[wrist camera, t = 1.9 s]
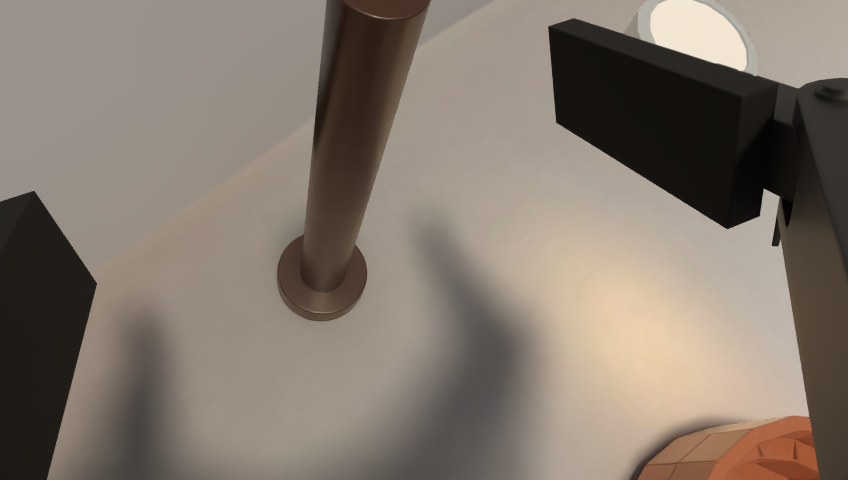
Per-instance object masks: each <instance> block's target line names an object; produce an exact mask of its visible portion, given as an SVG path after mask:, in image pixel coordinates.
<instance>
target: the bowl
mask: <svg viewBox="0 0 848 480" xmlns="http://www.w3.org/2000/svg"><path fill="white" fill-rule="evenodd" d="M638 480H820V479H819V473H818V466H817V460H816V454H815V448H814V441H813V435H812V429H811V423H810V417H803V416H787V417H780V418H772V419H765V420H758V421H751V422H744V423H736V424H729V425H722V426H714V427H711V428H708V429H704V430H701V431H698V432H695V433H691V434H688V435H685V436H681V437H679V438H677V439H675V440H674V441H673V442H672V443H671V444H669V445H668V446H667V447H666V448H665V449H664V450H662V451H661V452H660V453H659V454H658V455H656V456H655V457H654V458H653V459H652V460H651V461H649V462H648V463H647V464H646V466H645V467H644V469H643V471H642V473H641V474H640V476H639V478H638Z"/></svg>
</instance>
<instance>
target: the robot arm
mask: <svg viewBox="0 0 848 480" xmlns="http://www.w3.org/2000/svg"><path fill="white" fill-rule="evenodd" d="M548 28H549V41H550V53H551V65H552V77H553V89H554V101H555V113H556V123H558V124H559V125H561V126H563V127H564V128H566V129H567V130H569V131H571V132H572V133H574V134H575V135H577V136H579V137H580V138H582V139H584V140H585V141H587V142H588V143H590V144H592V145H593V146H595V147H596V148H598V149H600V150H601V151H603V152H604V153H606V154H608V155H609V156H611V157H612V158H614V159H616V160H617V161H619V162H620V163H622V164H624V165H625V166H627V167H628V168H630V169H632V170H633V171H635V172H636V173H638V174H640V175H641V176H643V177H644V178H646V179H648V180H649V181H651V182H652V183H654V184H656V185H657V186H659V187H660V188H662V189H664V190H665V191H667V192H668V193H670V194H672V195H673V196H675V197H676V198H678V199H680V200H681V201H683V202H684V203H686V204H688V205H689V206H691V207H692V208H694V209H696V210H697V211H699V212H700V213H702V214H704V215H705V216H707V217H708V218H710V219H712V220H713V221H715V222H716V223H718V224H720V225H721V226H723V227H724V228H726V229H729V228H732V227H734V226H737V225H739V224H741V223H744V222H746V221H749V220H751V219H754V218H756V217H759V216H760V210H761V203H762V196H763V189H766V190H768V191H770V192H772V193H774V194H776V195H778V196H780V199H779V205H778V211H777V217H776V223H775V229H774V235H773V241H772V246H778V245H779V242H780V240H781V243H782V249H783V255H784V261H785V268H786V274H787V280H788V286H789V292H790V299H791V305H792V311H793V317H794V323H795V330H796V336H797V342H798V348H799V354H800V361H801V367H802V373H803V379H804V386H805V392H806V398H807V404H808V410H809V417H810V423H811V429H812V435H813V441H814V448H815V454H816V460H817V466H818V473H819V479H820V480H848V78H834V79H826V80H818V81H815V82H811V83H808V84H805V85H804V86H802V87H801V88H799V89H798V88H795V87H791V86H788V85H785V84H782V83H779V82H776V81H772V80H769V79H766V78H763V77H760V76H753V74H750V73H747V72H744V71H738V69H735V68H731V67H728V66H725V65H722V64H719V63H712V62H709V61H706V60H703V59H700V58H697V57H694V56H690V55H687V54H684V53H681V52H678V51H675V50H672V49H669V48H665V47H662V46H659V45H656V44H653V43H650V42H647V41H644V40H640V39H637V38H634V37H631V36H628V35H625V34H622V33H618V32H615V31H612V30H609V29H606V28H603V27H600V26H597V25H593V24H590V23H587V22H584V21H581V20H578V19H575V18H573V19H570V20H567V21H564V22H561V23H558V24H555V25H551V26H548ZM96 285H97V283H96V281H95V280H94V278H93V277H92V275H91V274H90V272H89V271H88V269H87V268H86V267H85V265H84V264H83V262H82V261H81V259H80V258H79V256H78V255H77V253H76V252H75V250H74V249H73V247H72V246H71V244H70V243H69V241H68V240H67V238H66V237H65V235H64V234H63V233H62V231H61V230H60V228H59V227H58V225H57V224H56V222H55V221H54V219H53V218H52V216H51V215H50V213H49V212H48V210H47V209H46V207H45V206H44V204H43V203H42V202H41V200H40V199H39V197H38V196H37V194H36V193H35V191H32V192H29V193H26V194H23V195H20V196H17V197H13V198H10V199H7V200H4V201H1V202H0V480H47V477H48V473H49V469H50V465H51V461H52V457H53V453H54V449H55V445H56V441H57V438H58V434H59V430H60V426H61V422H62V418H63V414H64V410H65V406H66V402H67V399H68V395H69V391H70V387H71V383H72V379H73V375H74V371H75V367H76V363H77V360H78V356H79V352H80V348H81V344H82V340H83V336H84V332H85V328H86V324H87V321H88V317H89V313H90V309H91V305H92V301H93V297H94V293H95V289H96Z"/></svg>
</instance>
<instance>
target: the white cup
mask: <svg viewBox="0 0 848 480" xmlns="http://www.w3.org/2000/svg"><path fill="white" fill-rule="evenodd" d="M624 34H625V35H628V36H631V37H634V38H637V39H640V40H644V41H647V42H650V43H653V44H656V45H659V46H662V47H665V48H669V49H672V50H675V51H678V52H681V53H684V54H687V55H690V56H694V57H697V58H700V59H703V60H706V61H709V62H712V63H719V64H722V65H725V66H728V67H731V68H735V69H738V71H744V72H747V73H750V74H753V76H756V74H757V72H758V63H757V51H756V49H755V47H754V45H753V42H752V40H751V38H750V36H749V34H748V32H747V30H746V29H745V28H744V27H743V26H742V25H741V23H740V22H739V21H738V20H737V19H736V18H735V17H734V16H733V15H732V13H731V12H730V11H728V10H727V9H725V8H724V7H722V6H721V5H719V4H718V3H716V2H715V1H713V0H645V1H644V3H643V4H642V5H641V7H640V8H639V10H638V11H637V13H636V15H635V16H634V18H633V20H632V21H631V23H630V24H629V26H628V28H627V29H626V31H625V33H624Z"/></svg>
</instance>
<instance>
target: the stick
mask: <svg viewBox="0 0 848 480" xmlns="http://www.w3.org/2000/svg"><path fill="white" fill-rule="evenodd" d="M430 1H431V0H327V2H326V13H325V23H324V34H323V44H322V54H321V64H320V75H319V86H318V96H317V106H316V116H315V126H314V137H313V147H312V158H311V168H310V178H309V189H308V199H307V209H306V220H305V230H304V235H302V236H300V237H298V238H297V239H295V240H294V241H292V242H291V243H290V244H289V245H288V246H287V247H286V249H285V250H284V252H283V253H282V255H281V258H280V261H279V264H278V288H279V292H280V294H281V297H282V298H283V300H284V302H285V303H286V304H287V306H288V307H289V308H290V309H291V310H292V311H294V312H295V313H297V314H298V315H300V316H302V317H304V318H307V319H311V320H317V321H326V320H332V319H336V318H338V317H341V316H342V315H344V314H346V313H347V312H349V311H350V310H351V309H352V308H353V307H354V306H355V305H356V303H357V302H358V300H359V299H360V297H361V294H362V292H363V290H364V287H365V284H366V280H367V267H366V262H365V259H364V257H363V255H362V253H361V252H360V250H359V249H358V247H357V246H356V245H355V243H356V239H357V236H358V233H359V230H360V226H361V223H362V220H363V217H364V214H365V210H366V207H367V204H368V201H369V198H370V194H371V191H372V188H373V185H374V181H375V178H376V175H377V172H378V169H379V165H380V162H381V159H382V156H383V153H384V149H385V146H386V143H387V140H388V136H389V133H390V130H391V127H392V124H393V120H394V117H395V114H396V111H397V108H398V104H399V101H400V98H401V95H402V92H403V88H404V85H405V82H406V79H407V75H408V72H409V69H410V66H411V63H412V59H413V56H414V53H415V50H416V47H417V43H418V40H419V37H420V34H421V30H422V27H423V24H424V21H425V18H426V14H427V11H428V8H429V5H430Z"/></svg>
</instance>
